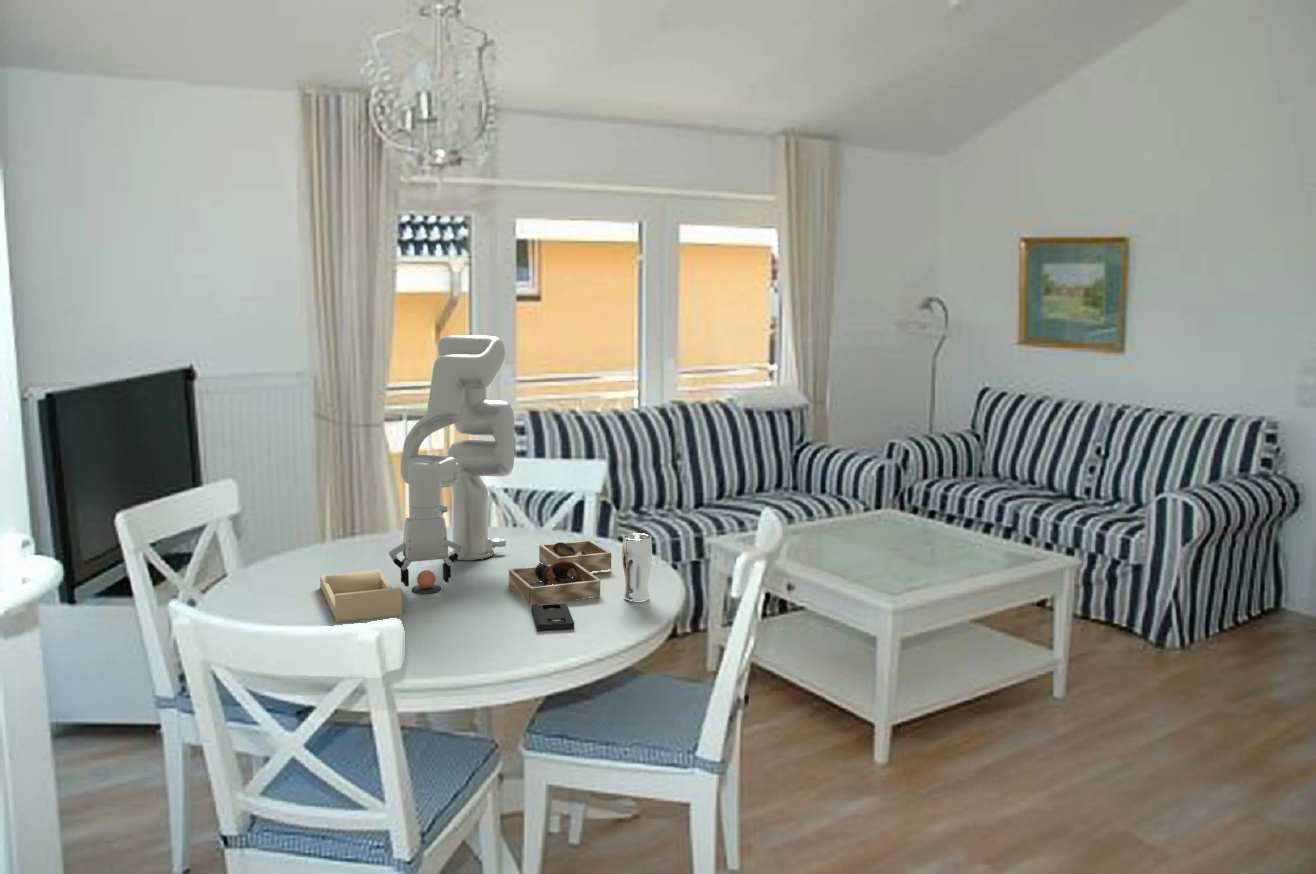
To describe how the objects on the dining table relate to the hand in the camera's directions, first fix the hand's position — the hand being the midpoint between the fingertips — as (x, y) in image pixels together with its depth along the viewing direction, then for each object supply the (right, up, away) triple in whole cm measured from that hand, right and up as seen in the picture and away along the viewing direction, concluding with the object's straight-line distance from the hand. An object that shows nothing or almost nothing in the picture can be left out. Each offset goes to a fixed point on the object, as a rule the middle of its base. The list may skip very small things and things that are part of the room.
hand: (426, 583), depth 239 cm
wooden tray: (+34, +1, +23) cm, 41 cm away
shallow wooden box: (+30, -2, +1) cm, 31 cm away
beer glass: (+50, -3, -3) cm, 51 cm away
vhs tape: (+32, -6, -20) cm, 38 cm away
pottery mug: (+31, -2, +3) cm, 31 cm away
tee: (0, -2, 0) cm, 2 cm away
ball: (0, +1, 0) cm, 1 cm away
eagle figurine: (+32, 0, +22) cm, 39 cm away
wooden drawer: (-13, -7, -8) cm, 17 cm away
